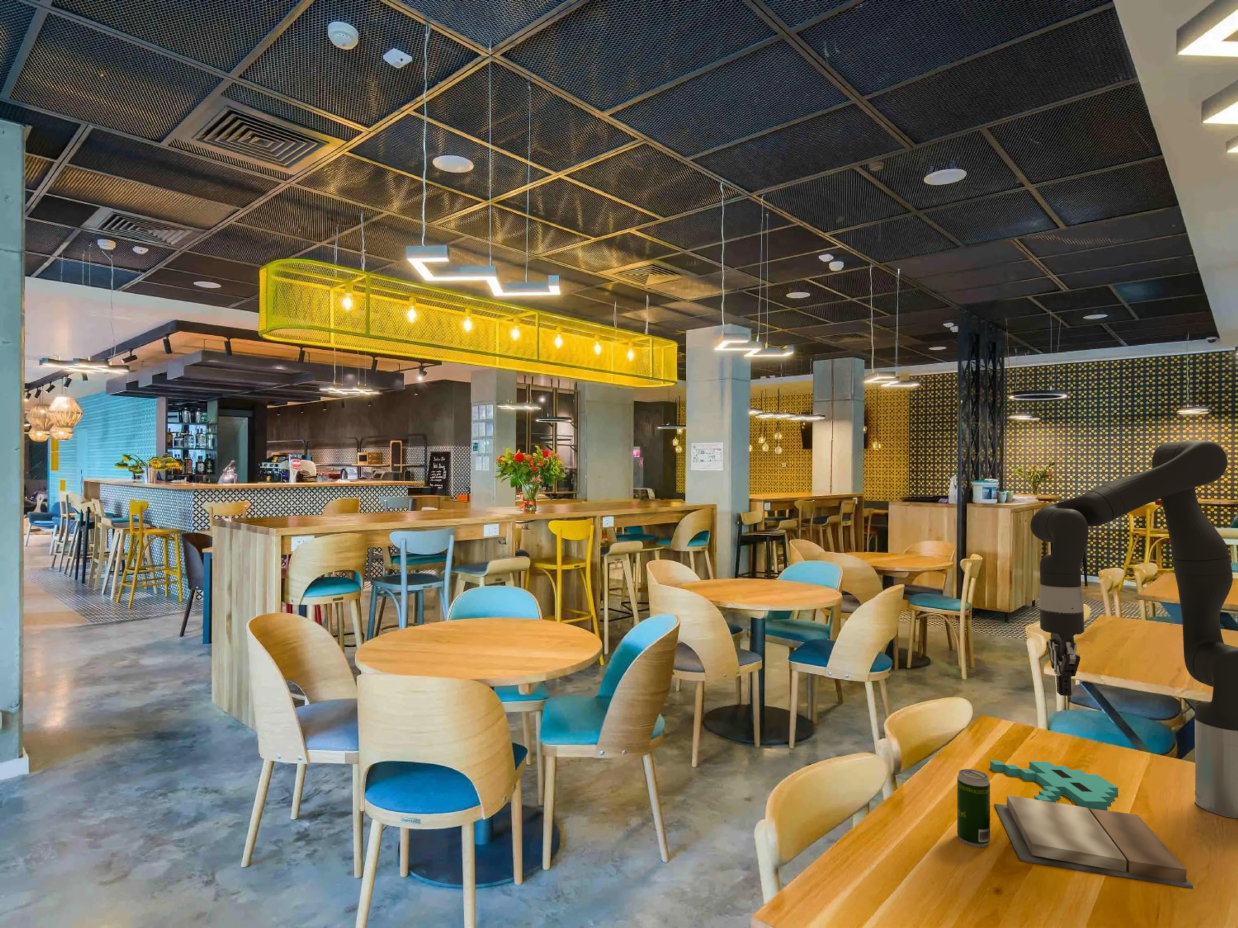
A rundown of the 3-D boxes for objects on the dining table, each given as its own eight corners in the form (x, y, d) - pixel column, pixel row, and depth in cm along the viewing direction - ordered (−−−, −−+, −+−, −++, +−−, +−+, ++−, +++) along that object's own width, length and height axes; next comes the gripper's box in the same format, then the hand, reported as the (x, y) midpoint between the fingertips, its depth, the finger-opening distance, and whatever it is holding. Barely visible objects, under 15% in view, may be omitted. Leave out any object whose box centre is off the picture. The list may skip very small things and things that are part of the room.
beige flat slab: (1086, 817, 137) (1087, 807, 137) (1126, 871, 118) (1126, 859, 118) (1006, 804, 141) (1006, 794, 141) (1031, 854, 122) (1032, 843, 122)
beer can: (996, 844, 127) (996, 777, 128) (976, 850, 125) (976, 782, 125) (970, 830, 132) (970, 766, 132) (950, 836, 130) (950, 771, 130)
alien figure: (1040, 811, 142) (1141, 813, 141) (1040, 799, 142) (1141, 802, 141) (990, 770, 162) (1078, 771, 161) (990, 760, 162) (1078, 762, 161)
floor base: (1139, 825, 135) (1138, 812, 135) (1193, 887, 114) (1192, 872, 114) (994, 805, 143) (994, 793, 143) (1019, 860, 122) (1019, 846, 122)
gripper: (1094, 614, 134) (1097, 706, 133) (1071, 602, 146) (1074, 686, 146) (1050, 613, 136) (1053, 703, 135) (1031, 601, 148) (1033, 683, 148)
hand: (1064, 694), depth 141 cm, fingers closed
